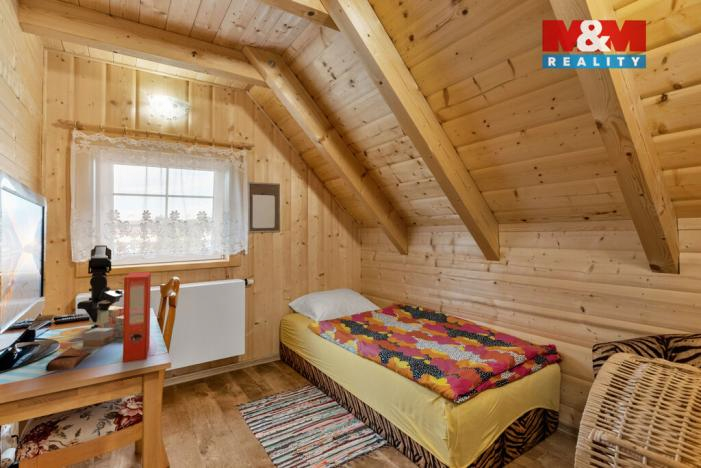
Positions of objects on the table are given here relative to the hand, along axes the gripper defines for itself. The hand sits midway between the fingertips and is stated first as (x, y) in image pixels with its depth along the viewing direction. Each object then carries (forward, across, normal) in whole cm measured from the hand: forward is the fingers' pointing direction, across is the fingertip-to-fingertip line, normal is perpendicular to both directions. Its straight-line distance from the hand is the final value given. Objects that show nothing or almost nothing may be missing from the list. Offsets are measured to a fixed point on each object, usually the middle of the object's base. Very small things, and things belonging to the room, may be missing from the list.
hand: (99, 320), depth 154 cm
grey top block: (+7, 0, 0) cm, 7 cm away
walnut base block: (+10, 0, 0) cm, 10 cm away
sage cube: (+1, 0, 0) cm, 1 cm away
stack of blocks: (+10, +14, +1) cm, 17 cm away
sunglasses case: (+10, -22, -4) cm, 25 cm away
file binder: (+10, -14, -25) cm, 30 cm away
